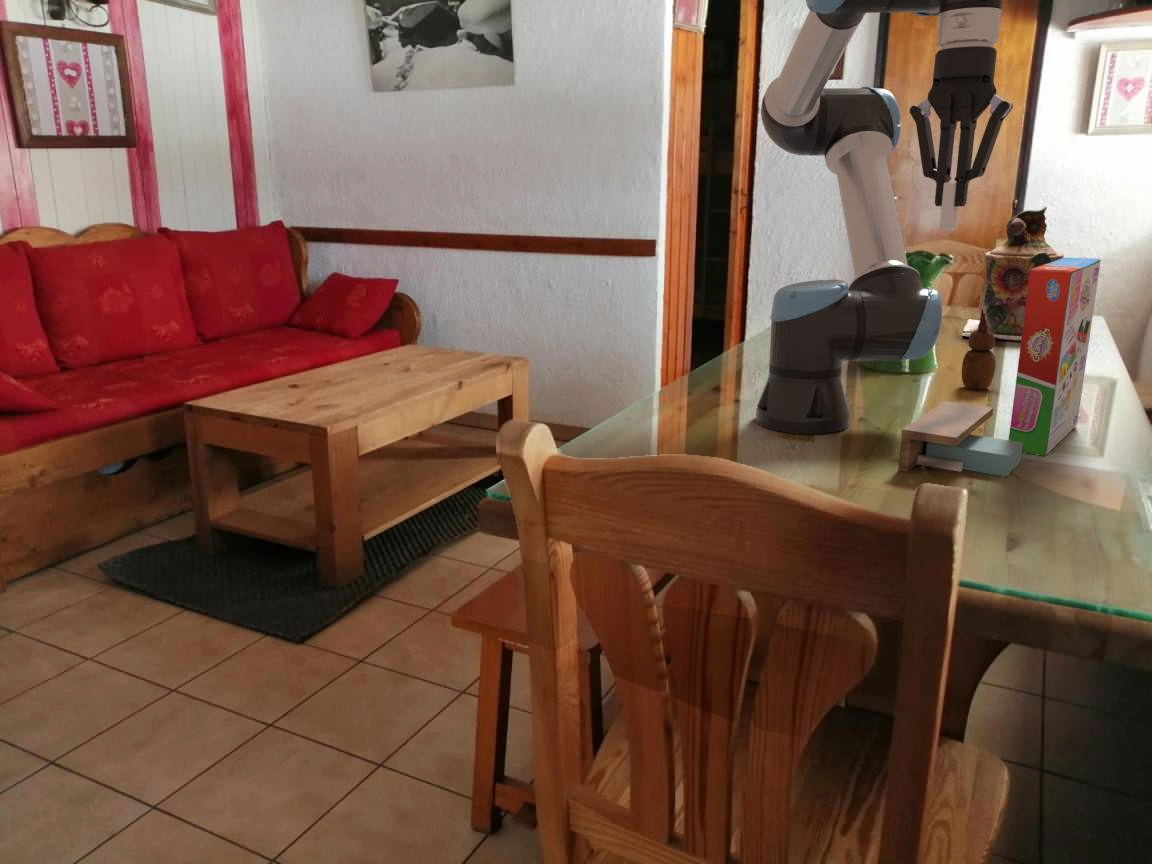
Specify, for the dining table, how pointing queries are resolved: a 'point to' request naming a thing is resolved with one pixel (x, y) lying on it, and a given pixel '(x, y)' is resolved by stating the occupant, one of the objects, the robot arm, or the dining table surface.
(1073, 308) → the game box
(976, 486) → the dining table surface
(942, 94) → the robot arm
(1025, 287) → the cookie jar
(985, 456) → the slate blue rectangular box
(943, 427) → the overhang
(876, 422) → the dining table surface
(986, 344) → the wooden figurine
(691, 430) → the dining table surface
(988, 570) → the dining table surface
